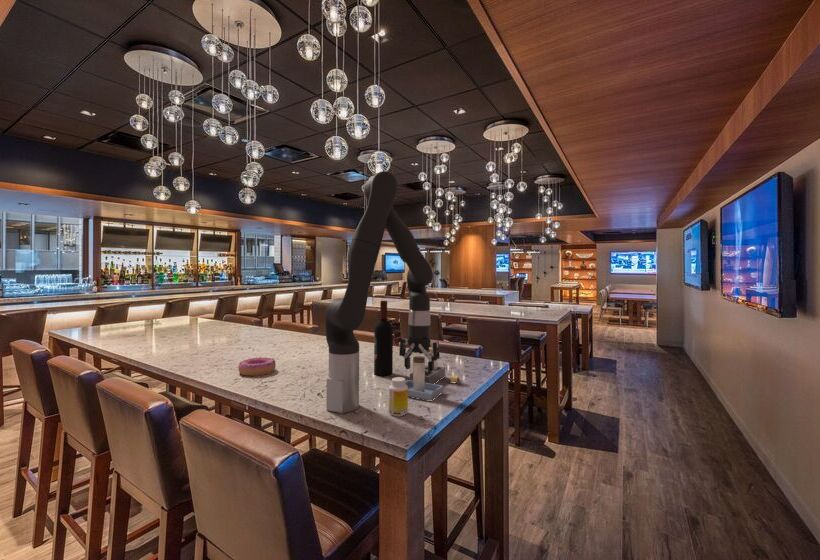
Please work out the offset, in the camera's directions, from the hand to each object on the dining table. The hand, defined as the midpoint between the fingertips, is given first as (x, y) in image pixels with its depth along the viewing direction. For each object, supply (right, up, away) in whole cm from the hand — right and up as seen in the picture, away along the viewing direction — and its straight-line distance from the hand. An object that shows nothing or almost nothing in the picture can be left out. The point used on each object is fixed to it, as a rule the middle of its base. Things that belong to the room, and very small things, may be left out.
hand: (418, 370), depth 124 cm
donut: (-66, -8, +26) cm, 72 cm away
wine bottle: (-14, -8, +24) cm, 29 cm away
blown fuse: (0, -8, 0) cm, 8 cm away
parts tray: (0, -8, 0) cm, 8 cm away
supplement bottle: (-7, -9, -17) cm, 20 cm away
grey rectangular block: (+4, -8, +15) cm, 17 cm away
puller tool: (+14, -8, +16) cm, 23 cm away
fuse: (+6, -8, +19) cm, 21 cm away
